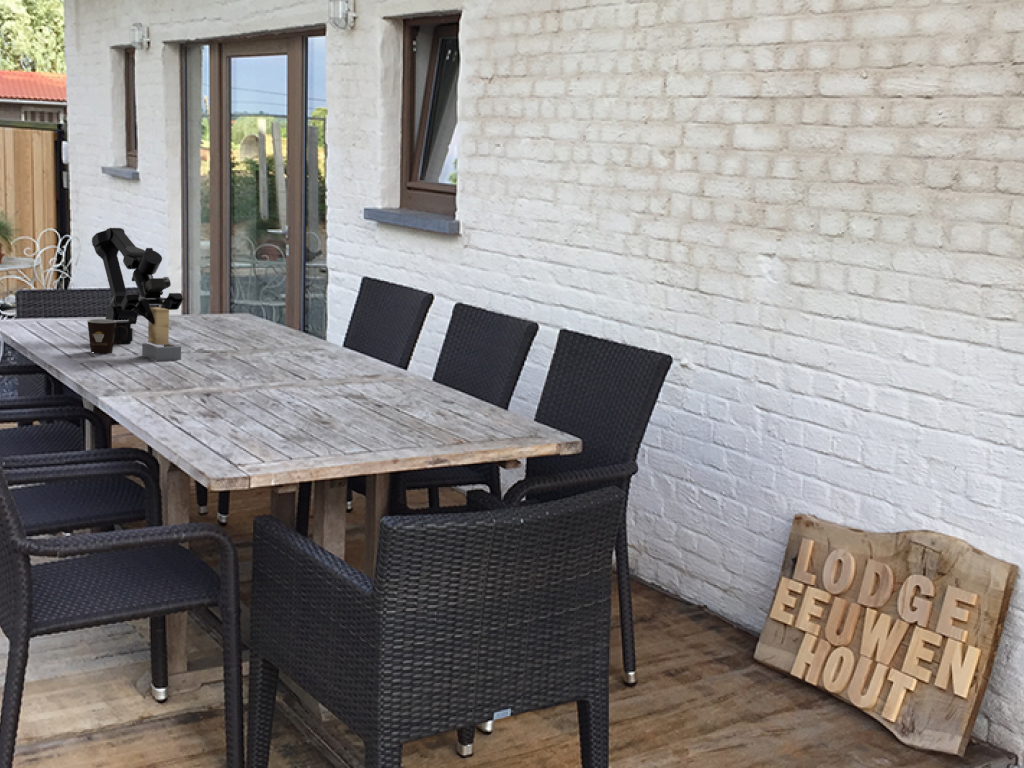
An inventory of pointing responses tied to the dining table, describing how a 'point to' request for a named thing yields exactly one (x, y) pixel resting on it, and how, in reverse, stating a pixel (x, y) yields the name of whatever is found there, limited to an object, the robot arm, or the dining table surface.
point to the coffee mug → (103, 335)
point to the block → (159, 326)
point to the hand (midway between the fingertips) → (160, 323)
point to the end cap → (161, 352)
